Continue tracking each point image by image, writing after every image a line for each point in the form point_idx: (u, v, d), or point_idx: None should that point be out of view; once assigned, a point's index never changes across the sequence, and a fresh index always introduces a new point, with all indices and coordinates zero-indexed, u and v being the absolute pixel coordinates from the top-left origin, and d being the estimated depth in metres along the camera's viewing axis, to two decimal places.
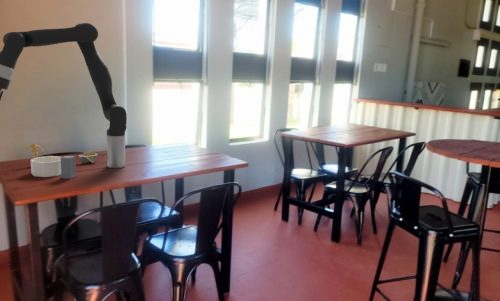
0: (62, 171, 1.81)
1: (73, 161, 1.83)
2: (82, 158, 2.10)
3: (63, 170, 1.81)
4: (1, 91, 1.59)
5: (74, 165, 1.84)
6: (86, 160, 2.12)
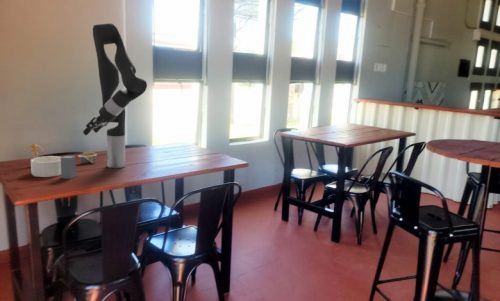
0: (62, 171, 1.81)
1: (73, 161, 1.83)
2: (81, 158, 2.10)
3: (63, 170, 1.81)
4: None
5: (74, 165, 1.84)
6: (85, 160, 2.11)
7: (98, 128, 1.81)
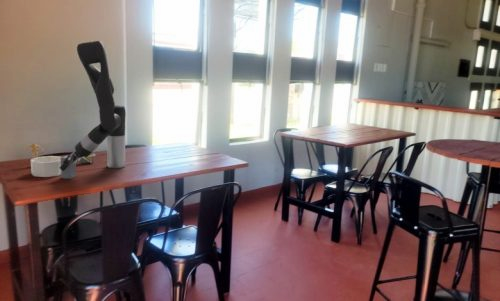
0: (62, 171, 1.81)
1: None
2: None
3: None
4: None
5: (74, 165, 1.84)
6: (84, 160, 2.11)
7: None
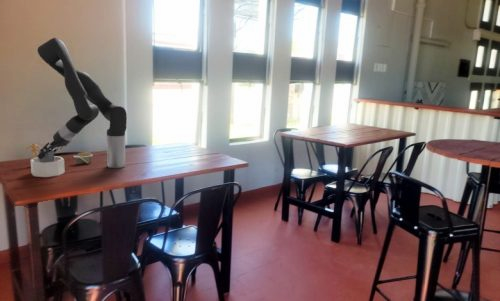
0: None
1: (52, 155, 1.87)
2: (77, 159, 2.08)
3: None
4: None
5: (53, 159, 1.88)
6: (81, 161, 2.10)
7: None
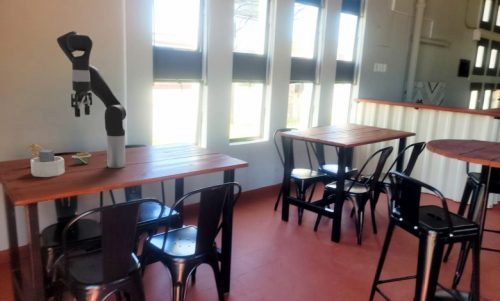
0: None
1: (52, 155, 1.87)
2: (75, 159, 2.07)
3: None
4: (87, 93, 1.81)
5: (53, 159, 1.88)
6: (79, 161, 2.09)
7: (87, 109, 1.80)
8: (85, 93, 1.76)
